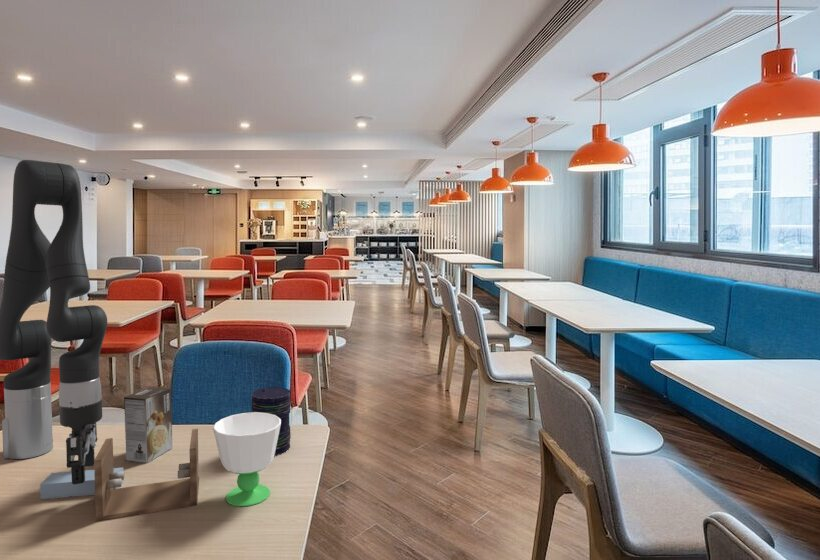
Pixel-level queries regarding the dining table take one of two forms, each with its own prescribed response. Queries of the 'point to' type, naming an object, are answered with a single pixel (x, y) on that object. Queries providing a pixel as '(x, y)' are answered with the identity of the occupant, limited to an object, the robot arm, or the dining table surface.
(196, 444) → the peg frame
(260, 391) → the dark blue cylinder
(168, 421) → the coffee box
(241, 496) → the cup
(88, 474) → the light blue rectangular block
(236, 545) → the dining table surface
